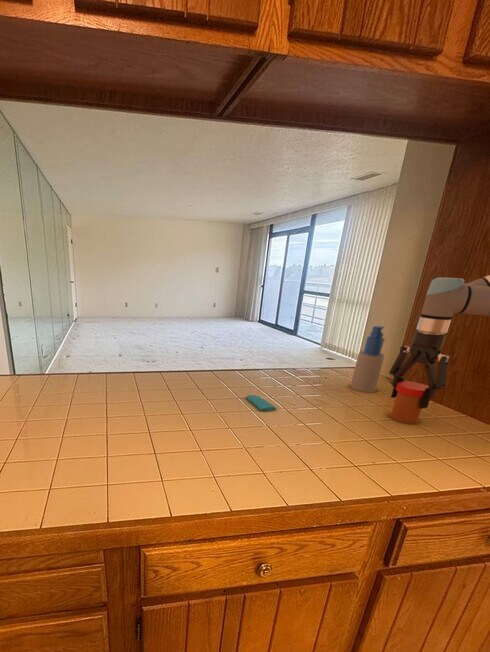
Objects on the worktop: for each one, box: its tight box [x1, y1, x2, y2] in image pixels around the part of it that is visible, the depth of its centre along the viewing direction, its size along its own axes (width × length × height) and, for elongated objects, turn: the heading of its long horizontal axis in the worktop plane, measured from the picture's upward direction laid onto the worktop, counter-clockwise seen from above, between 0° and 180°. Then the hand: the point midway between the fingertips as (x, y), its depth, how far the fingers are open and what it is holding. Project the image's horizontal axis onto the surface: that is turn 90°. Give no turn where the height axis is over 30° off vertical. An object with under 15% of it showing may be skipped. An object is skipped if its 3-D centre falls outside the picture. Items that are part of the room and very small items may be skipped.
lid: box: [396, 380, 429, 397], centre depth 110 cm, size 9×9×2 cm
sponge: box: [246, 394, 276, 411], centre depth 123 cm, size 2×12×6 cm
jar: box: [389, 391, 422, 425], centre depth 112 cm, size 8×8×11 cm
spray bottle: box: [350, 325, 385, 393], centre depth 136 cm, size 9×9×25 cm
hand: (408, 402), depth 112 cm, fingers closed on lid, 9 cm apart
